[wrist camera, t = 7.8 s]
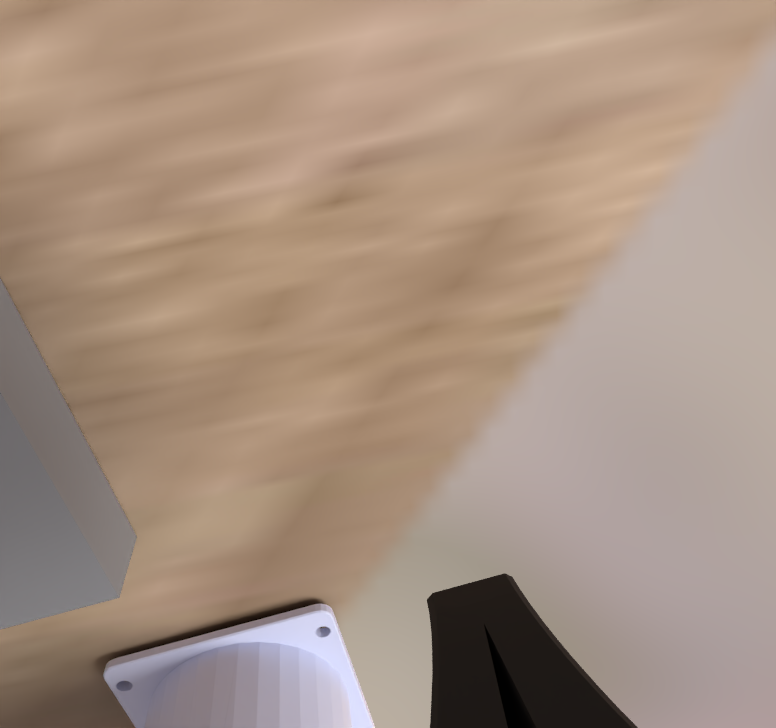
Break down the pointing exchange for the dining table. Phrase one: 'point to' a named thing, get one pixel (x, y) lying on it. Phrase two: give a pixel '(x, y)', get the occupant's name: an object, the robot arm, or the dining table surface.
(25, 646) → the dining table surface
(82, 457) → the board
